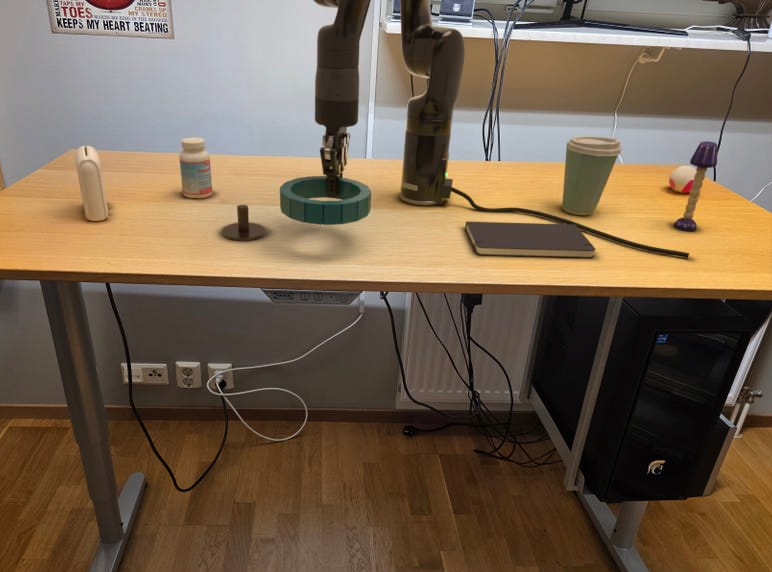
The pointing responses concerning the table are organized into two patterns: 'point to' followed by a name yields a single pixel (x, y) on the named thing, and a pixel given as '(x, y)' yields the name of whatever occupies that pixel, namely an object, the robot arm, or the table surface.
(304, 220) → the ring
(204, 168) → the pill bottle
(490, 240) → the notebook
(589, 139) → the disposable coffee cup
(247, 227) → the peg stand
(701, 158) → the toy lamp
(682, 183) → the stress ball
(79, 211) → the table surface
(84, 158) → the photo printer
